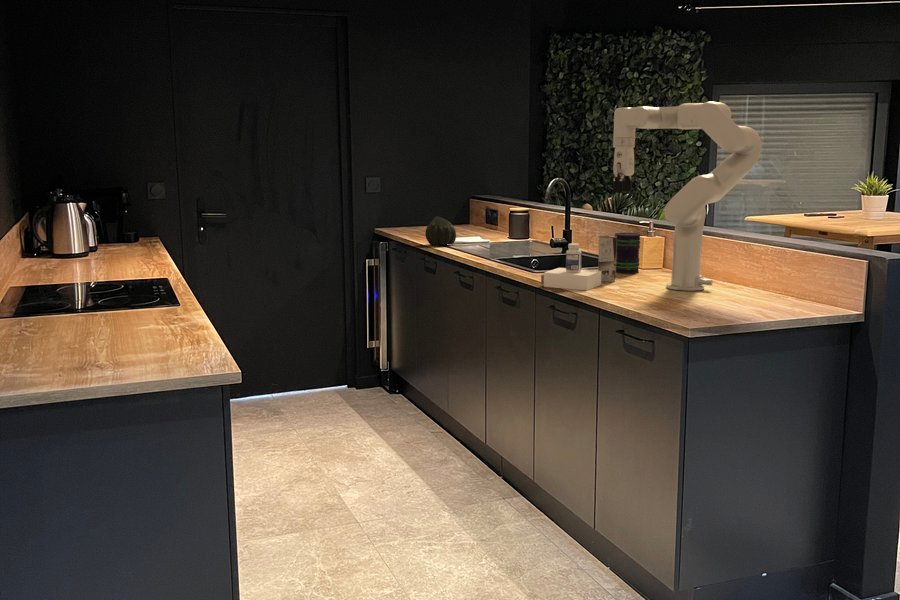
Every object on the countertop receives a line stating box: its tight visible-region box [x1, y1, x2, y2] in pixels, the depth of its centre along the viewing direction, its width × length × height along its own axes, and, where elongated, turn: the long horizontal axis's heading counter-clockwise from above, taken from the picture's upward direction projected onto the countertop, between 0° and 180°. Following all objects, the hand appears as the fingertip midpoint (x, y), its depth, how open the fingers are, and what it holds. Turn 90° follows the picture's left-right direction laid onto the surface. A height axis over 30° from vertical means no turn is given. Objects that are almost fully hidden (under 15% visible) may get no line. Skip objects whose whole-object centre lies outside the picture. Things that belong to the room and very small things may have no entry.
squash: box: [424, 215, 457, 247], centre depth 426 cm, size 14×15×15 cm
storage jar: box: [614, 232, 641, 275], centre depth 336 cm, size 10×10×15 cm
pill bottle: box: [565, 243, 583, 272], centre depth 302 cm, size 5×5×10 cm
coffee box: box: [597, 234, 617, 283], centre depth 316 cm, size 9×6×16 cm
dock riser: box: [540, 267, 602, 291], centre depth 304 cm, size 17×14×5 cm
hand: (622, 191), depth 309 cm, fingers open, 9 cm apart
